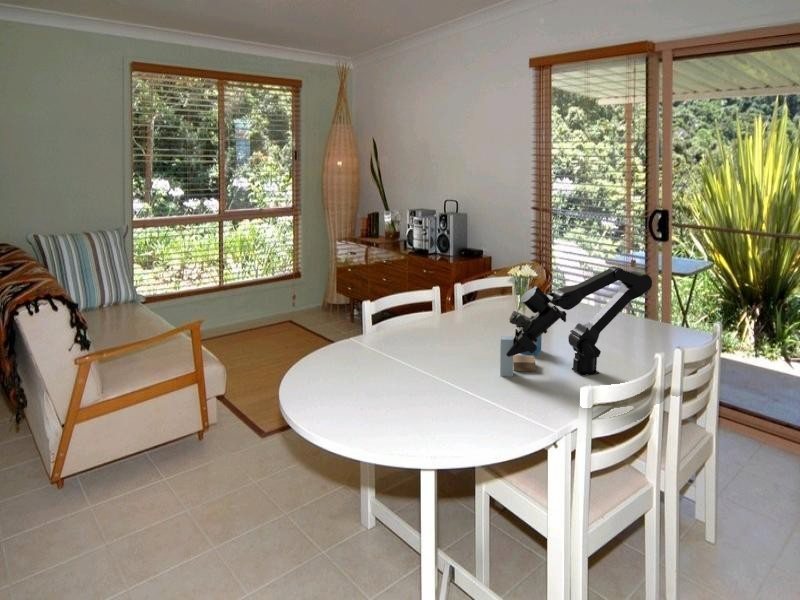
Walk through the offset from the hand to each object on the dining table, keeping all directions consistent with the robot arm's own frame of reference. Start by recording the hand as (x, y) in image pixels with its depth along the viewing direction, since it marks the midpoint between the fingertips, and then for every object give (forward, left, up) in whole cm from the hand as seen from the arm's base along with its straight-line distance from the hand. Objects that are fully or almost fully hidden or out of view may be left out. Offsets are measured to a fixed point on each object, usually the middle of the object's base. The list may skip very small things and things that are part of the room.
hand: (507, 353), depth 183 cm
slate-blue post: (0, 0, -7) cm, 7 cm away
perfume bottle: (-17, -18, -7) cm, 26 cm away
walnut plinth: (-8, -4, -7) cm, 11 cm away
